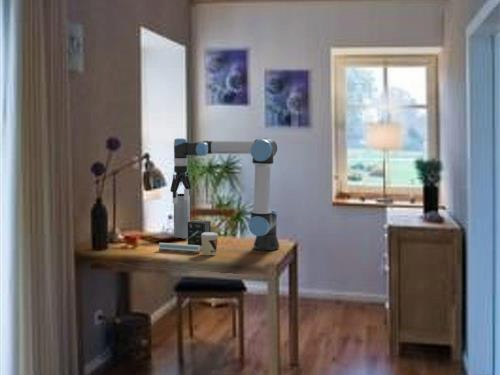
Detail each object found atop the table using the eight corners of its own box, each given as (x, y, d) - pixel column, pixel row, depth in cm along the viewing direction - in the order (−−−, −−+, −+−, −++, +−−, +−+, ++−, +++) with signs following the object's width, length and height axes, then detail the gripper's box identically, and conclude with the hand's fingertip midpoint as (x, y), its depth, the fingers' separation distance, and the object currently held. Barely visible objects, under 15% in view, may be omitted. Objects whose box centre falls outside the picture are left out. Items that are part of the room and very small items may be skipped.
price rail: (199, 250, 374) (199, 245, 373) (198, 251, 372) (198, 245, 372) (159, 248, 380) (159, 242, 379) (158, 248, 378) (158, 243, 378)
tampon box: (211, 244, 397) (211, 220, 395) (203, 247, 388) (203, 223, 386) (195, 243, 401) (195, 219, 399) (187, 246, 393) (187, 221, 391)
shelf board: (206, 248, 386) (206, 246, 386) (198, 254, 373) (198, 251, 373) (168, 245, 392) (168, 243, 392) (159, 251, 379) (159, 248, 379)
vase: (193, 236, 419) (192, 194, 415) (183, 239, 410) (183, 196, 407) (180, 235, 424) (180, 193, 420) (170, 237, 415) (170, 195, 412)
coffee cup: (211, 257, 365) (211, 236, 364) (197, 255, 370) (197, 234, 368) (221, 254, 373) (221, 233, 371) (207, 252, 378) (207, 231, 376)
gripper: (185, 163, 395) (185, 198, 398) (164, 166, 373) (164, 204, 376) (196, 163, 393) (196, 199, 395) (175, 167, 370) (176, 205, 373)
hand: (180, 201), depth 385 cm, fingers open, 13 cm apart
